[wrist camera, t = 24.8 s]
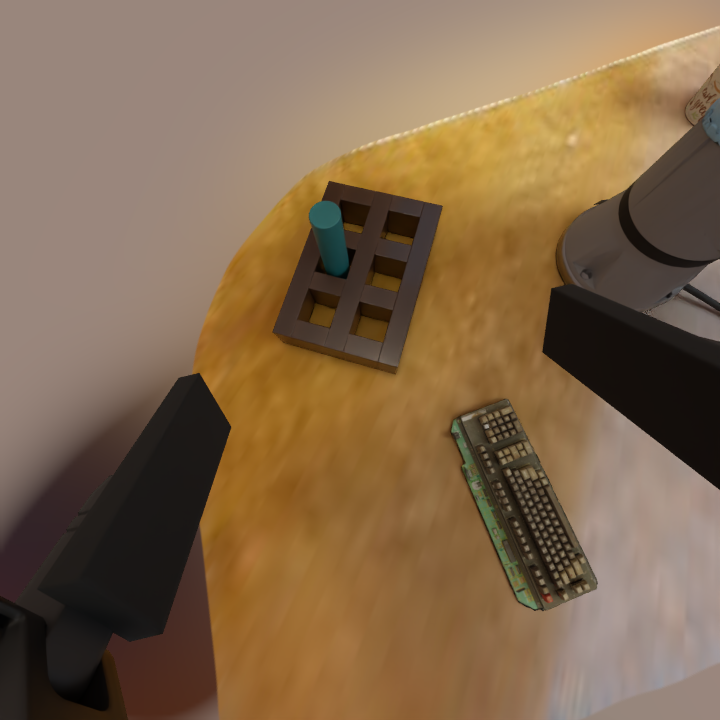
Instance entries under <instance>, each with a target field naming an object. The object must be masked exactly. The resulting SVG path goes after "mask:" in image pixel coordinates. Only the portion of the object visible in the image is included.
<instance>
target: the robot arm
mask: <svg viewBox="0 0 720 720" xmlns="http://www.w3.org/2000/svg"><path fill="white" fill-rule="evenodd" d="M597 204H599V205H597ZM594 205H597V206H595V207H593V208H590V209H588V210H587V211H585V212H583V213H582V214H581V215H579V216H578V217H577V218H576V219H575V220H574V221H573V222H572V223H571V224H570V225H569V226H568V228H567V229H566V230H565V231H564V233H563V234H562V236H561V238H560V240H559V243H558V246H557V252H556V259H557V266H558V269H559V272H560V275H561V277H562V279H563V281H564V282H565V284H566V285H563V286H559V287H555V288H551V295H550V302H549V309H548V316H547V323H546V330H545V337H544V344H543V351H542V352H543V353H544V354H545V355H547V356H548V357H549V358H551V359H552V360H553V361H554V362H556V363H557V364H558V365H560V366H561V367H562V368H563V369H565V370H566V371H567V372H569V373H570V374H571V375H572V376H574V377H575V378H576V379H578V380H579V381H580V382H581V383H583V384H584V385H585V386H587V387H588V388H589V389H590V390H592V391H593V392H594V393H596V394H597V395H598V396H599V397H601V398H602V399H603V400H605V401H606V402H607V403H609V404H610V405H611V406H612V407H614V408H615V409H616V410H618V411H619V412H620V413H621V414H623V415H624V416H625V417H627V418H628V419H629V420H630V421H632V422H633V423H634V424H636V425H637V426H638V427H639V428H641V429H642V430H643V431H645V432H646V433H647V434H648V435H650V436H651V437H652V438H654V439H655V440H656V441H657V442H659V443H660V444H661V445H663V446H664V447H665V448H666V449H668V450H669V451H670V452H672V453H673V454H674V455H675V456H677V457H678V458H679V459H681V460H682V461H683V462H684V463H686V464H687V465H688V466H690V467H691V468H692V469H694V470H695V471H696V472H697V473H699V474H700V475H701V476H703V477H704V478H705V479H706V480H708V481H709V482H710V483H712V484H713V485H714V486H715V487H717V488H718V489H719V490H720V342H719V341H715V340H711V339H706V338H702V337H698V336H696V335H693V334H691V333H689V332H686V331H684V330H681V329H679V328H677V327H674V326H672V325H670V324H667V323H665V322H662V321H660V320H658V319H655V318H653V317H651V316H648V315H646V314H643V313H641V312H644V311H647V310H650V309H652V308H654V307H656V306H659V305H661V304H663V303H665V302H667V301H669V300H670V299H672V298H673V297H674V296H675V295H676V294H677V293H678V292H679V291H680V290H681V289H683V290H685V291H687V292H688V293H690V294H692V295H693V296H695V297H697V298H698V299H700V300H702V301H703V302H705V303H707V304H708V305H710V306H711V307H713V308H715V309H716V310H718V311H719V312H720V303H719V302H717V301H716V300H714V299H712V298H711V297H709V296H707V295H706V294H704V293H702V292H701V291H699V290H697V289H696V288H694V287H692V286H691V285H689V284H688V283H689V282H690V281H691V280H692V279H693V278H694V277H695V276H696V275H697V274H699V273H700V272H701V271H702V270H703V269H704V268H705V267H706V266H707V265H708V264H710V263H712V262H714V261H716V260H718V259H720V98H718V99H717V100H716V101H715V102H714V103H713V104H712V105H711V106H710V107H709V109H708V110H707V111H706V112H705V116H704V117H703V118H702V119H701V120H700V121H699V122H698V123H697V124H696V125H695V126H694V127H692V128H691V129H690V130H689V131H688V132H687V133H686V134H685V135H684V136H683V137H682V138H681V139H680V140H679V141H678V142H676V143H675V144H674V145H673V146H672V147H671V148H670V149H669V150H668V151H667V152H666V153H665V154H664V155H663V156H662V157H660V158H659V159H658V160H657V161H656V162H655V163H654V164H653V165H652V166H651V167H650V168H649V169H648V170H647V171H646V172H644V173H643V174H642V175H641V176H640V177H639V178H638V179H637V180H636V181H635V182H634V183H633V184H632V185H631V186H630V187H629V188H628V189H627V190H625V191H623V192H621V193H619V194H618V195H616V196H614V197H612V198H611V199H608V200H601V201H599V202H598V203H596V204H594ZM230 430H231V426H230V424H229V422H228V421H227V419H226V417H225V415H224V414H223V412H222V410H221V409H220V407H219V405H218V404H217V402H216V400H215V399H214V397H213V395H212V394H211V392H210V390H209V388H208V387H207V385H206V383H205V382H204V380H203V378H202V377H201V375H200V373H197V374H193V375H189V376H185V377H180V378H178V380H177V381H176V383H175V384H174V386H173V387H172V389H171V390H170V392H169V393H168V395H167V396H166V398H165V399H164V401H163V402H162V404H161V405H160V407H159V408H158V409H157V411H156V412H155V414H154V415H153V417H152V418H151V420H150V421H149V423H148V424H147V426H146V427H145V429H144V430H143V432H142V433H141V435H140V436H139V438H138V439H137V441H136V442H135V444H134V445H133V447H132V448H131V450H130V451H129V453H128V454H127V456H126V457H125V459H124V460H123V461H122V463H121V464H120V466H119V467H118V469H117V470H116V472H115V473H114V475H111V476H109V477H108V478H107V479H106V480H105V481H104V482H103V483H102V484H101V485H100V486H99V487H98V488H97V489H96V490H95V491H94V492H93V493H92V494H91V495H90V497H89V498H88V499H87V501H86V502H85V504H84V505H83V506H82V508H81V509H80V511H79V512H78V516H77V517H75V518H74V519H73V521H72V522H71V524H70V525H69V526H68V528H67V532H66V533H65V534H63V535H62V536H61V538H60V539H59V541H58V542H57V543H56V545H55V547H54V548H53V549H52V551H51V552H50V553H49V555H48V556H47V558H46V559H45V560H44V562H43V563H42V565H41V566H40V568H39V569H38V571H37V572H36V573H35V575H34V576H33V578H32V579H31V580H30V582H29V583H28V585H27V586H26V588H25V589H24V590H23V592H22V593H21V595H20V596H19V598H18V599H17V600H16V602H15V603H13V602H11V601H9V600H7V599H5V598H3V597H1V596H0V720H128V718H127V714H126V709H125V705H124V700H123V696H122V692H121V687H120V683H119V679H118V675H117V670H116V666H115V661H114V658H113V656H112V655H111V653H110V652H109V651H108V650H106V647H107V645H108V643H109V640H110V638H111V636H112V633H115V634H117V635H118V636H120V637H122V638H124V639H126V640H127V641H129V642H131V641H135V640H138V639H143V638H147V637H151V636H155V635H159V634H163V631H164V628H165V625H166V622H167V619H168V616H169V613H170V610H171V607H172V604H173V601H174V598H175V595H176V592H177V589H178V586H179V583H180V580H181V577H182V574H183V571H184V568H185V565H186V562H187V559H188V556H189V553H190V550H191V547H192V544H193V541H194V538H195V535H196V532H197V529H198V526H199V523H200V520H201V517H202V514H203V511H204V508H205V505H206V502H207V499H208V496H209V493H210V490H211V487H212V484H213V481H214V478H215V475H216V472H217V469H218V466H219V463H220V460H221V457H222V454H223V451H224V448H225V445H226V442H227V439H228V436H229V433H230Z"/></svg>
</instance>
